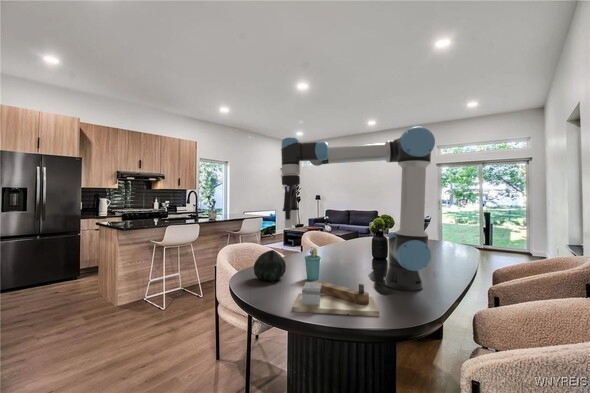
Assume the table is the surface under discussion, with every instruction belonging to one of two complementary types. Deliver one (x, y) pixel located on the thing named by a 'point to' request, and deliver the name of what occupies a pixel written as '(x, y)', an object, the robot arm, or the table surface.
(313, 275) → the cup
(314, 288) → the block
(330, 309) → the pintle board
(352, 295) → the wooden bar with peg
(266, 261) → the squash
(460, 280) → the table surface
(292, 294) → the table surface
